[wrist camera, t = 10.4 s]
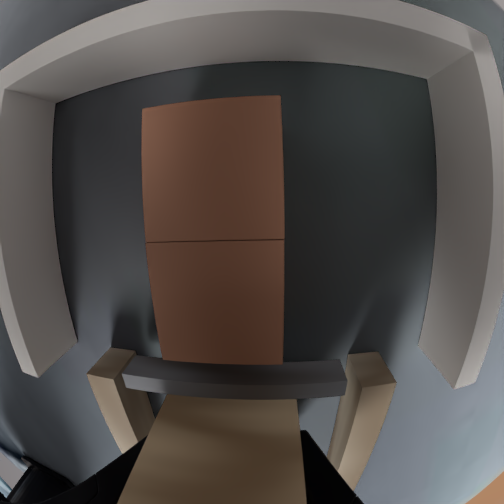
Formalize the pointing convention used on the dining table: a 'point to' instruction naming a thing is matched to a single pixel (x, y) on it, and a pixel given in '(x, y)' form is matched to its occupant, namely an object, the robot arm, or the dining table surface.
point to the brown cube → (219, 300)
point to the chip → (213, 170)
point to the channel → (346, 425)
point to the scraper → (225, 431)
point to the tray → (249, 50)
